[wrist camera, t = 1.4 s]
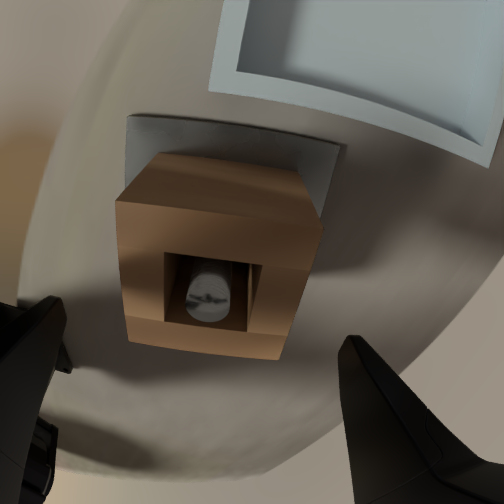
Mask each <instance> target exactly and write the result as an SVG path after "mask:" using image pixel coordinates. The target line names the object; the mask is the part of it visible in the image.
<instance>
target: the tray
mask: <svg viewBox="0 0 504 504" xmlns="http://www.w3.org/2000/svg"><path fill="white" fill-rule="evenodd" d="M208 91H212V92H220V93H228V94H235V95H242V96H249V97H255V98H261V99H267V100H273V101H278V102H283V103H289V104H293V105H298V106H303V107H308V108H312V109H316V110H321V111H325V112H329V113H333V114H337V115H341V116H345V117H348V118H352V119H356V120H359V121H363V122H366V123H369V124H373V125H376V126H379V127H383V128H386V129H389V130H392V131H395V132H398V133H401V134H404V135H407V136H410V137H413V138H415V139H418V140H421V141H424V142H426V143H429V144H432V145H434V146H437V147H439V148H442V149H444V150H447V151H449V152H452V153H454V154H457V155H459V156H461V157H464V158H466V159H468V160H470V161H473V162H475V163H477V164H479V165H481V166H484V167H486V168H489V165H490V162H491V159H492V156H493V153H494V150H495V147H496V143H497V140H498V137H499V133H500V130H501V126H502V122H503V119H504V0H224V4H223V9H222V14H221V19H220V24H219V29H218V35H217V40H216V46H215V52H214V57H213V63H212V69H211V76H210V82H209V88H208Z"/></svg>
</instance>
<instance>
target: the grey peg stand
mask: <svg viewBox="0 0 504 504" xmlns="http://www.w3.org/2000/svg"><path fill="white" fill-rule="evenodd" d="M339 149H340V146H339V145H338V144H334V143H330V142H326V141H321V140H317V139H312V138H307V137H303V136H298V135H293V134H287V133H282V132H277V131H271V130H265V129H259V128H253V127H247V126H240V125H233V124H226V123H218V122H210V121H201V120H192V119H182V118H170V117H157V116H141V115H129V116H127V128H126V150H125V189H126V188H127V186H128V185H129V184H130V183H131V182H132V181H133V180H134V178H135V177H136V176H137V175H138V174H139V173H140V172H141V171H142V169H143V168H144V167H145V166H146V165H147V164H148V163H149V162H150V161H151V160H152V159H153V158H154V157H155V155H156V154H157V153H167V154H177V155H186V156H195V157H203V158H211V159H219V160H226V161H233V162H240V163H247V164H254V165H260V166H266V167H272V168H278V169H284V170H289V171H295V172H299V174H300V176H301V178H302V181H303V183H304V185H305V187H306V189H307V192H308V194H309V196H310V198H311V200H312V203H313V205H314V207H315V209H316V212H317V214H318V216H319V218H320V217H321V213H322V210H323V207H324V203H325V200H326V196H327V193H328V189H329V186H330V182H331V179H332V175H333V171H334V168H335V164H336V160H337V157H338V153H339ZM231 274H232V261H229V260H221V259H214V258H206V257H199V256H196V257H195V261H194V265H193V270H192V274H191V279H190V283H189V288H188V292H187V297H186V302H185V306H186V310H187V311H188V313H189V314H190V315H191V316H192V317H194V318H195V319H197V320H200V321H203V322H215V321H219V320H221V319H223V318H224V317H226V315H227V314H228V312H229V309H230V292H231Z"/></svg>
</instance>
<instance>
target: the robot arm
mask: <svg viewBox="0 0 504 504" xmlns="http://www.w3.org/2000/svg"><path fill="white" fill-rule="evenodd" d="M66 321H67V316H66V312H65V309H64V305H63V302H62V299H61V298H60V297H56V296H51V295H50V296H48V297H46V298H44V299H43V300H41V301H40V302H38V303H37V304H35V305H34V306H33V307H31V308H30V309H28V310H25V309H22V308H18V307H15V306H11V305H8V304H4V303H1V302H0V504H43V502H44V501H45V499H46V496H47V495H48V494H49V492H50V490H51V487H52V485H53V481H54V474H55V460H56V448H57V438H58V428H57V427H56V426H54V425H53V424H49V423H48V422H46V421H45V420H43V419H42V418H40V417H39V416H38V414H39V410H40V407H41V404H42V401H43V398H44V395H45V393H46V390H47V388H48V385H49V383H50V381H51V378H52V376H53V373H54V371H55V370H57V371H60V372H64V373H67V374H71V372H72V369H73V368H72V365H71V363H70V361H69V358H68V356H67V353H66V351H65V348H64V345H63V343H62V336H63V333H64V329H65V326H66ZM338 371H339V389H340V401H341V408H342V414H343V420H344V426H345V433H346V440H347V447H348V454H349V461H350V469H351V476H352V484H353V493H354V502H355V504H504V464H498V463H493V462H488V461H486V460H484V459H482V458H480V457H478V456H477V455H476V454H474V452H472V451H471V450H470V449H469V448H468V447H467V446H466V445H465V444H463V443H462V442H461V441H460V440H459V439H458V438H457V437H456V436H455V435H454V434H453V433H452V432H451V431H450V430H449V429H448V428H447V427H445V426H444V425H443V423H442V422H441V421H440V420H439V419H438V418H437V417H436V416H435V415H434V414H433V413H432V412H431V411H430V410H429V409H427V406H426V405H425V404H424V403H423V402H422V401H421V400H420V399H419V398H418V397H417V395H416V394H415V393H414V392H413V391H412V390H411V389H410V388H409V387H408V386H407V385H406V384H405V383H404V381H403V380H402V379H401V378H400V377H399V376H398V375H397V374H396V373H395V372H394V371H393V370H392V368H391V367H390V366H389V365H388V364H387V363H386V362H385V361H384V360H383V359H382V358H381V357H380V356H379V355H378V353H377V352H376V351H375V350H374V349H373V348H372V347H371V346H370V345H369V344H368V343H367V342H366V341H365V340H364V339H363V338H362V337H361V336H360V335H348V336H347V337H346V339H345V341H344V342H343V344H342V346H341V348H340V350H339V352H338Z"/></svg>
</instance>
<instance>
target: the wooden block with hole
mask: <svg viewBox="0 0 504 504" xmlns="http://www.w3.org/2000/svg"><path fill="white" fill-rule="evenodd" d="M115 209H116V231H117V246H118V259H119V270H120V280H121V289H122V298H123V306H124V313H125V320H126V327H127V334H128V340H129V341H130V342H136V343H141V344H147V345H153V346H159V347H165V348H172V349H178V350H185V351H192V352H200V353H208V354H216V355H225V356H235V357H245V358H256V359H268V360H279V357H280V355H281V352H282V349H283V347H284V344H285V341H286V339H287V336H288V333H289V331H290V328H291V325H292V322H293V320H294V317H295V314H296V311H297V308H298V306H299V303H300V300H301V297H302V294H303V291H304V288H305V286H306V283H307V280H308V277H309V274H310V271H311V268H312V265H313V262H314V259H315V256H316V253H317V250H318V247H319V243H320V240H321V237H322V234H323V231H324V228H323V225H322V223H321V221H320V218H319V216H318V214H317V212H316V209H315V207H314V205H313V203H312V200H311V198H310V196H309V194H308V192H307V189H306V187H305V185H304V183H303V181H302V178H301V176H300V174H299V172H295V171H289V170H284V169H278V168H272V167H266V166H260V165H254V164H247V163H240V162H233V161H226V160H219V159H211V158H203V157H195V156H186V155H177V154H167V153H157V154H156V155H155V157H154V158H153V159H152V160H151V161H150V162H149V163H148V164H147V165H146V166H145V167H144V168H143V169H142V171H141V172H140V173H139V174H138V175H137V176H136V177H135V178H134V180H133V181H132V182H131V183H130V184H129V185H128V186H127V188H126V189H125V190H124V191H123V192H122V193H121V195H120V196H119V197H118V198H117V199H116V200H115ZM196 256H199V257H206V258H214V259H221V260H229V261H232V274H231V292H230V309H229V312H228V314H227V315H226V317H224V318H223V319H221V320H219V321H215V322H203V321H200V320H197V319H195V318H194V317H192V316H191V315H190V314H189V313H188V311H187V310H186V306H185V302H186V297H187V292H188V288H189V283H190V279H191V274H192V270H193V265H194V261H195V257H196Z"/></svg>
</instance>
